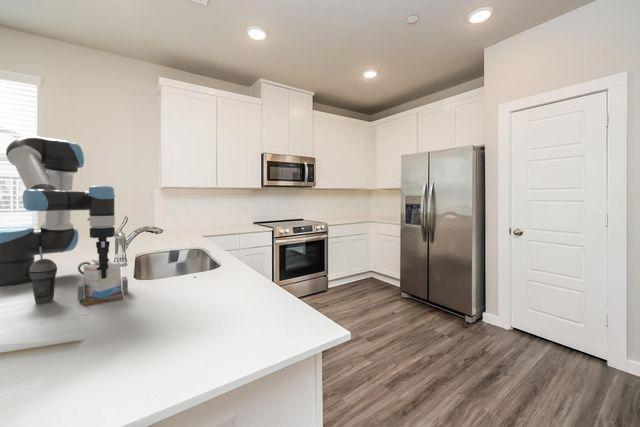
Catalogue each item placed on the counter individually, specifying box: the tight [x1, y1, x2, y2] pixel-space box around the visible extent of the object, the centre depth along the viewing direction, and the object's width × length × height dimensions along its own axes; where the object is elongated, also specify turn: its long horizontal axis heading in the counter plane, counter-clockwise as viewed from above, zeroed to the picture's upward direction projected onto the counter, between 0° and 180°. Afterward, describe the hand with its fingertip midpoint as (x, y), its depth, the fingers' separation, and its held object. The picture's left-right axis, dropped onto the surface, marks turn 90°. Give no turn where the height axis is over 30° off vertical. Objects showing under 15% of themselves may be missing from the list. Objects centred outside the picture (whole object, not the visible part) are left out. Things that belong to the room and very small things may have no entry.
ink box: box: [82, 259, 122, 299], centre depth 106 cm, size 9×8×13 cm
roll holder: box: [76, 275, 129, 306], centre depth 106 cm, size 15×15×6 cm
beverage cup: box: [29, 247, 58, 305], centre depth 99 cm, size 7×7×20 cm
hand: (103, 282), depth 106 cm, fingers open, 12 cm apart
